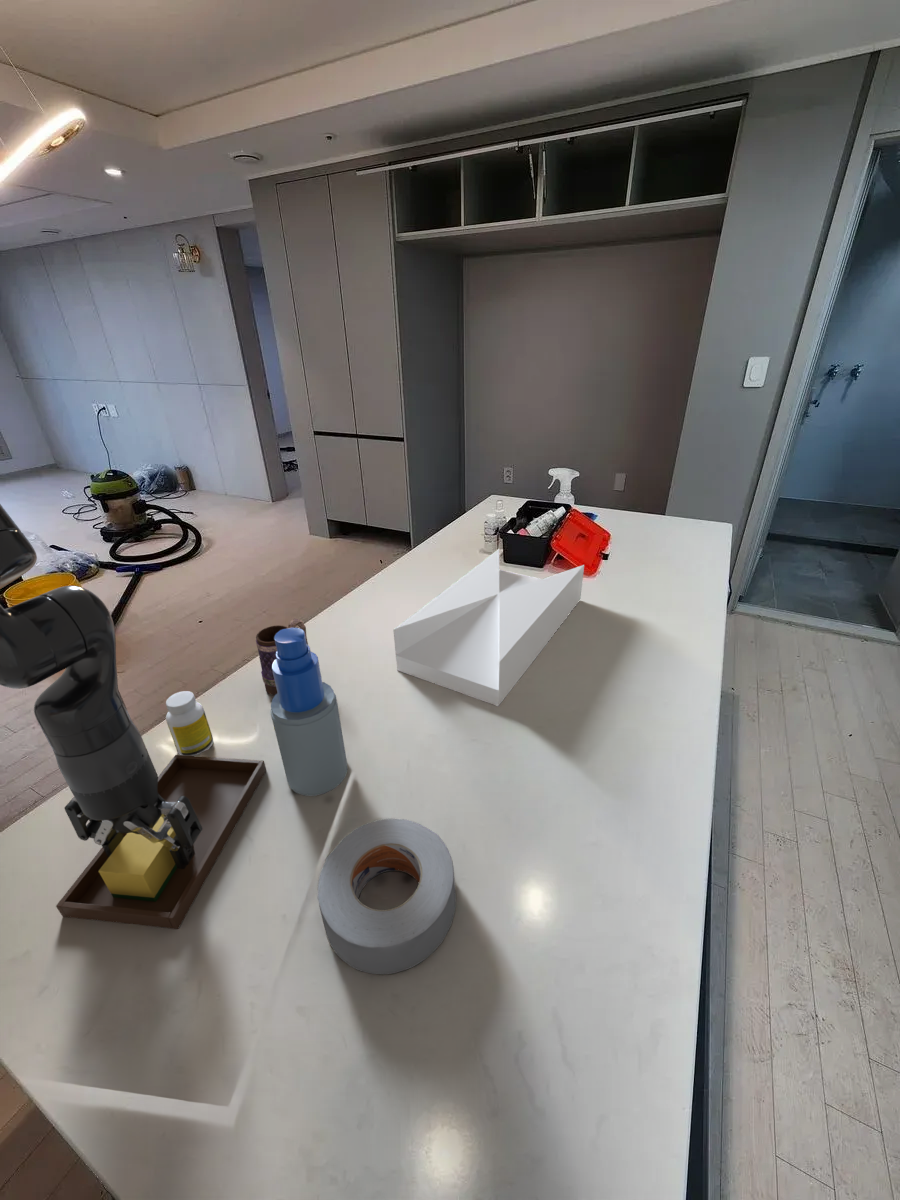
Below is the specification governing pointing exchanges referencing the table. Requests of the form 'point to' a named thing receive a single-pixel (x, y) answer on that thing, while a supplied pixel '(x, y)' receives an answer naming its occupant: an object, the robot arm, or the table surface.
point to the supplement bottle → (188, 724)
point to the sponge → (139, 867)
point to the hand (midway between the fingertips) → (153, 859)
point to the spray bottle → (306, 718)
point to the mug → (272, 651)
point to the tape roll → (401, 930)
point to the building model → (485, 629)
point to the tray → (218, 805)
